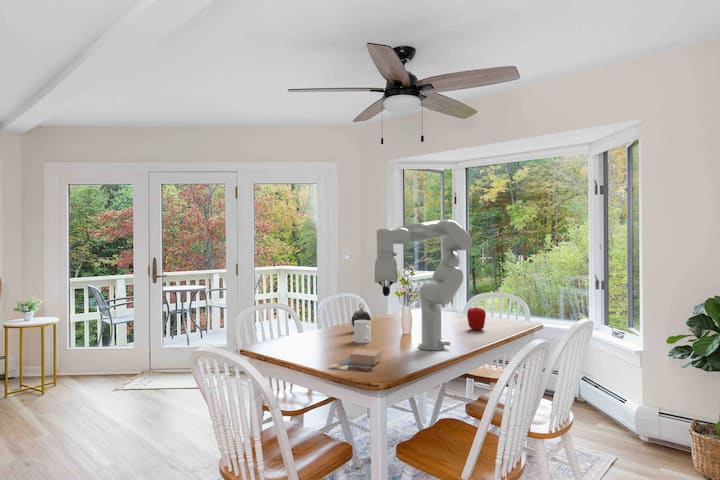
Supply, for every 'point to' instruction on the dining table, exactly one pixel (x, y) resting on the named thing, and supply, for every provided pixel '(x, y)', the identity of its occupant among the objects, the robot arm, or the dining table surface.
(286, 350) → the dining table surface
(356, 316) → the alarm clock
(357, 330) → the mug
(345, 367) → the turner
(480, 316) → the red bell pepper
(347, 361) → the mat
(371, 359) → the tan wooden block
